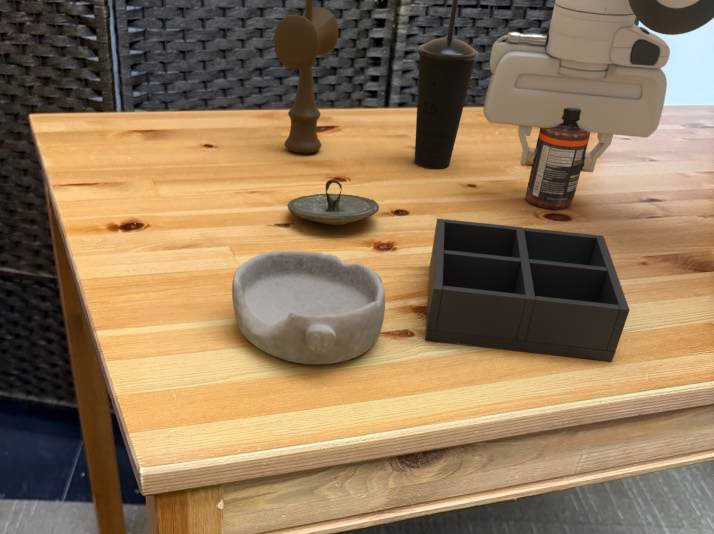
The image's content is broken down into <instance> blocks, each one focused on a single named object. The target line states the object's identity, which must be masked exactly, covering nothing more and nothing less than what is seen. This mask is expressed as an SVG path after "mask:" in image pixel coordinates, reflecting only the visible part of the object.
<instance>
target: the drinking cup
mask: <svg viewBox="0 0 714 534" xmlns="http://www.w3.org/2000/svg"><path fill="white" fill-rule="evenodd" d="M458 3H459V0H452V3H451V9H450V17H449V22H448V30H447V37H439V38H435V39H432V40H429V41H428V42H426V43H424V44H421V45H419V46H418V47H417V53H418V54H419V56H418V58H419V59H418V79H417V81H418V82H417V98H416V99H417V100H416V101H417V102H416V118H415V119H416V122H415V123H416V124H415V142H414V144H415V145H414V163H415V164H416V165H417V166H419V167H421V168H426V169H432V170H433V169H434V170H435V169H436V170H439V169H440V170H441V169H446V168H448V167H449V166H450V164H451V160H452V156H453V151H454V147H455V143H456V139H457V135H458V131H459V127H460V124H461V118H462V115H463V110H464V108H465V107H464V106H465V103H466V99H467V94H468V90H469V86H470V82H471V79H472V78H471V77H472V73H473V69H474V67H475V66H474V65H475V61H476V60H477V59H478V58H479V51H478V50H476V49H474V48H473V47H472V46H471V45H469V44H468V43H466V42H464V41H463V40H461V39H457V38H454V32H455V24H456V19H457V11H458V6H459V4H458Z"/></svg>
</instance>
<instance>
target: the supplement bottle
mask: <svg viewBox="0 0 714 534" xmlns="http://www.w3.org/2000/svg"><path fill="white" fill-rule="evenodd" d="M563 113H564V114H563V117H562V119H563V121H564V122H563V123H561V124H559V125H557V126H556V127H551V128H539V131H538V137H537V140H536V145H535V151H536V156H535V159H534V165H533V166H531V169H530V172H529V177H528V182H527V187H526V191H525V198H526V200H527V201H528V202H529V203H531V205H534V206H536V207H539V208H542V209H550V210H559V209H565V208H567V207H569V206H571V205H572V204H573V201H574V198H575V194H576V191H577V188H578V184H579V179H580V177H581V172H582V171H581V168H582V164H583V161H584V157H585V153H587V149H588V146H589V141H590V137H591V132H586V131H585V130H582V129H580V128H579V126H578V124H577V121H579V120H580V113H581V109H575V108H565V109H564V111H563Z"/></svg>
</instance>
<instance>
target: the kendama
mask: <svg viewBox="0 0 714 534" xmlns="http://www.w3.org/2000/svg"><path fill="white" fill-rule="evenodd" d="M339 34H340V33H339V23H338V21H337V19H336V15H335V14H334V13H332V12H331V11H330V10H329V9H327V8H324V7H321V6H315V7H314V0H305V10H304V12H303V14H302V15H299V14H290V15H289V14H288V15H286V16H285V17H283V18H282V19H280V20H279V21H278V23H277V25H276V27H275V29H274V35H273V49H274V53H275V55H276V57H277V60H278V62H279V63H281V64H282V65H283V66H284V67H286V68H287V69H290V70H293V71H299V74H298V82H297V87H296V93H295V98H294V101H293V105H292V106H291V108H290V109H289V110H288V112H287V114H288V117H289V118H290V129H289V134H288V137H287V138H286V140H285V141H284V147H285V148H286V149H287V150H289V151H291V152H293V153H298V154H312V153H315V152H317V151H319V150H320V149H321V148H322V143H321V141H320V139H319V137H318V133H317V132H318V131H317V130H318V129H317V126H318V120H319V119H320V117H321V112H320V110H319V109H318V107H317V103H316V99H315V97H316V96H315V88H314V87H315V86H314V73H313V64H314V63H315V61H316V59H317V58H318V56H326V55H328V54H330V53H332V52H333V50H334V49H335V47H336V46H337V44H338V39H339Z"/></svg>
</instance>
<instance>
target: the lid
mask: <svg viewBox="0 0 714 534" xmlns="http://www.w3.org/2000/svg"><path fill="white" fill-rule="evenodd" d="M332 184H336V185H338V187H339V190H340V191H339V193H328V190H329V189H330V186H331V185H332ZM342 188H343V185H342V184H341V183H340V181H338V180H337V179H334V178H333V179H328V180H327V181H326V183H325V193H316V194H315V193H314V194H310V195H309V194H308V195H302V196H298V197H296V198H293V199H292V200H290V201H289V202H288V204H286V205H287V206H286V207H287V209H288V211H289V212H290V213H291V214H293V215H294V216H296V217H298V218H302V219H304V220H307V221H311V222H315V223H320V224H325V225H330V226H337V227H338V226H343V225H346V224H349V223H354V222H357V221H360V220H363V219H366V218H369V217H372V216H373V215H375V214H376V213H378V212H379V210H380V206H379V203H378V202H376V201H375V200H374V199H372V198H368V197H363V196H359V195H354V194H346V193H345V194H344V193H342V190H343V189H342Z"/></svg>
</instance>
